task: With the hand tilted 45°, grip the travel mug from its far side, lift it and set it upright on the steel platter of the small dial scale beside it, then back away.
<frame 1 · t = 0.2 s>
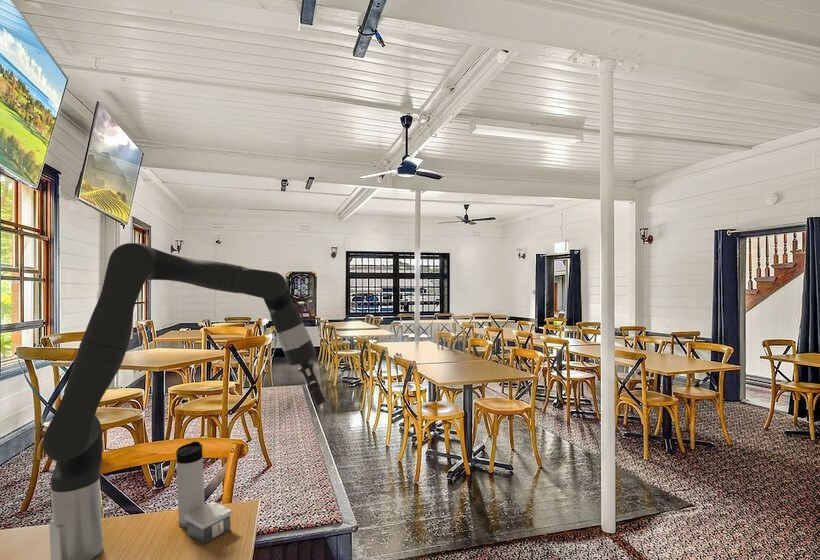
hand: (319, 398, 123), 31 cm above the table, tool tilted 20°, fingers open, 8 cm apart
dial scale: (209, 532, 116), on the table
travel mug: (192, 521, 121), on the table
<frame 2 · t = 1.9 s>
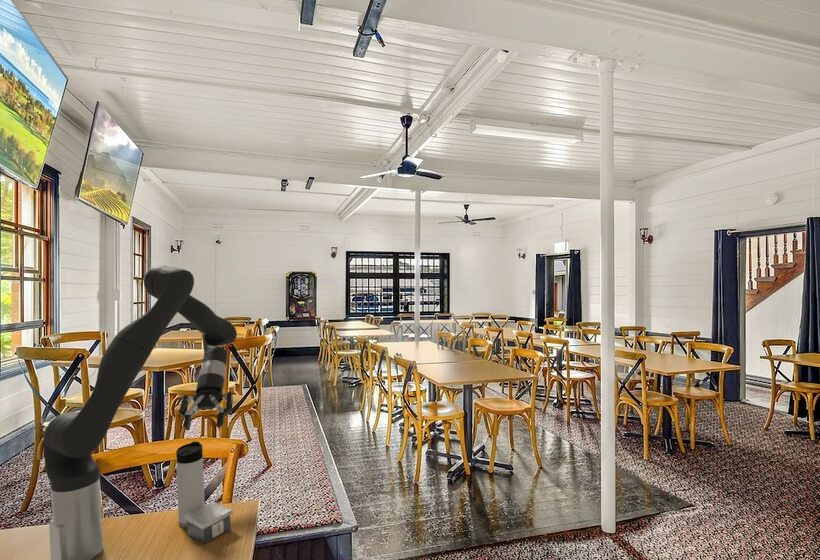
hand: (202, 428, 132), 21 cm above the table, tool tilted 45°, fingers open, 8 cm apart
nothing on the table moved.
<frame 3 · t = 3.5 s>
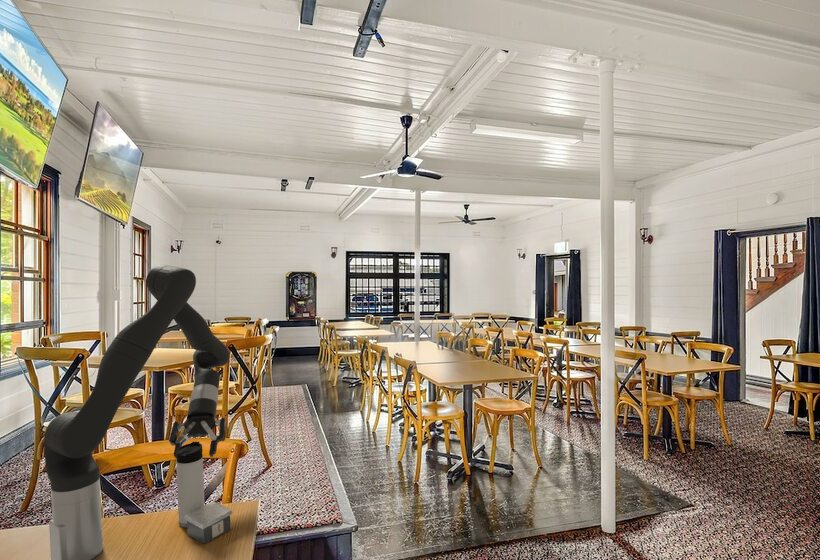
hand: (194, 457, 125), 15 cm above the table, tool tilted 45°, fingers open, 8 cm apart
nothing on the table moved.
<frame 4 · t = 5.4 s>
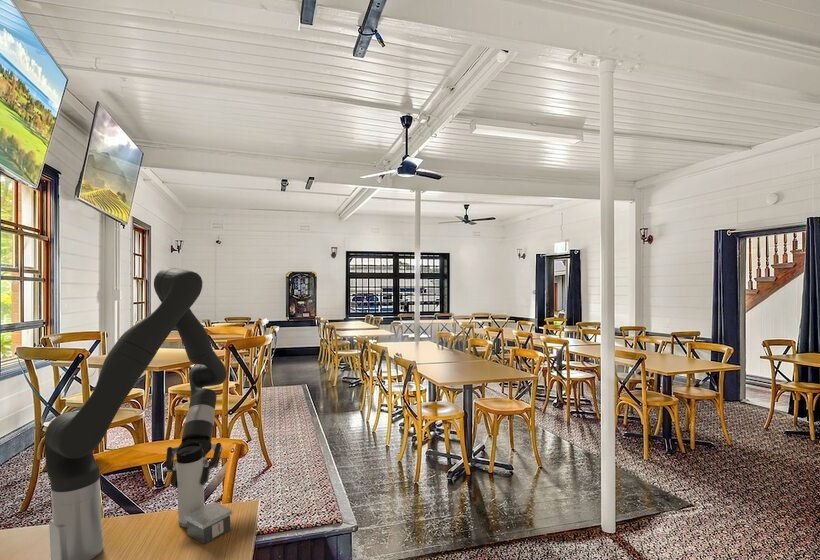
hand: (189, 485, 120), 10 cm above the table, tool tilted 45°, fingers closed on travel mug, 6 cm apart
travel mug: (192, 521, 121), on the table, touching gripper
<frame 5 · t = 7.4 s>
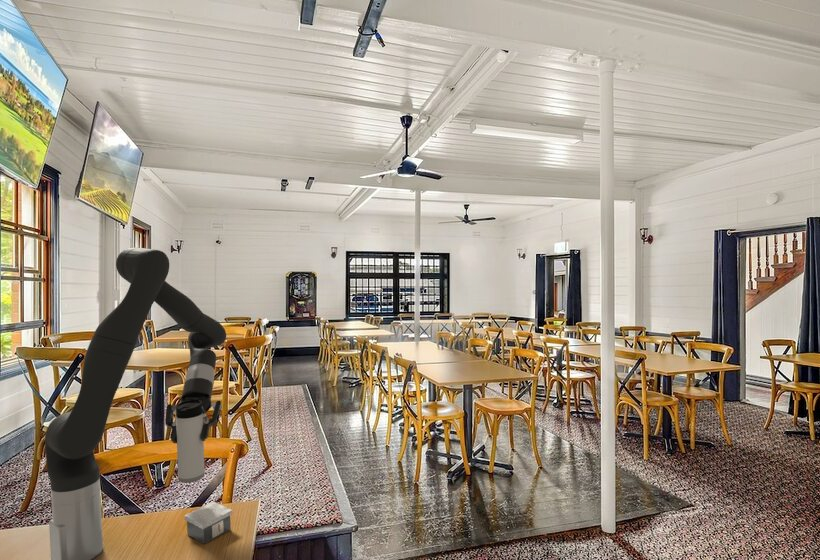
hand: (188, 440, 119), 22 cm above the table, tool tilted 45°, fingers closed on travel mug, 6 cm apart
travel mug: (192, 478, 121), point 12 cm above the table, touching gripper
when the fingers open (17 cm above the table, at t = 9.8 s): travel mug drops 1 cm, resting on dial scale.
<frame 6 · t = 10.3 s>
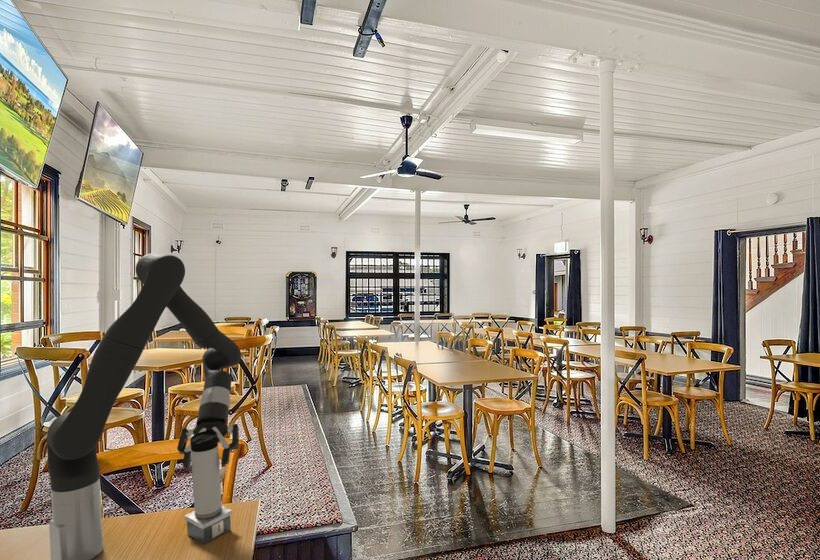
hand: (205, 467, 114), 17 cm above the table, tool tilted 45°, fingers open, 8 cm apart
travel mug: (209, 512, 116), point 5 cm above the table, touching dial scale
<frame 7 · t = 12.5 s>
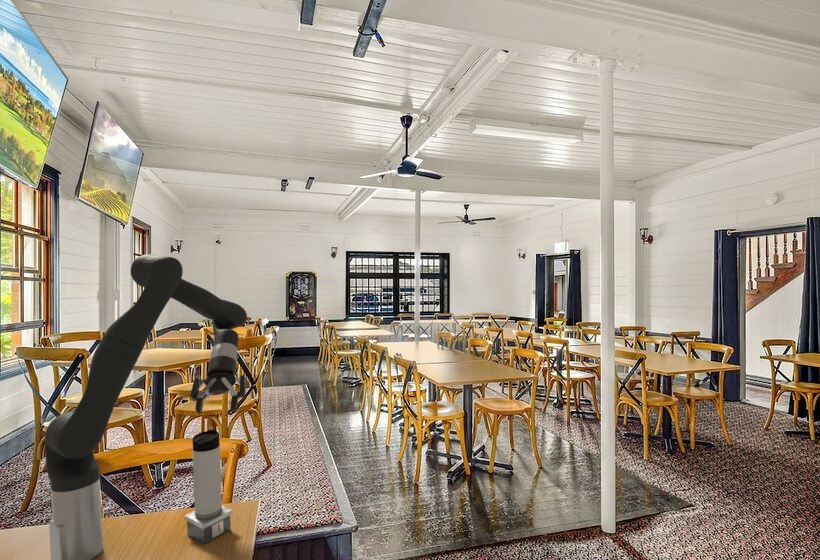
hand: (215, 411, 126), 27 cm above the table, tool tilted 45°, fingers open, 8 cm apart
nothing on the table moved.
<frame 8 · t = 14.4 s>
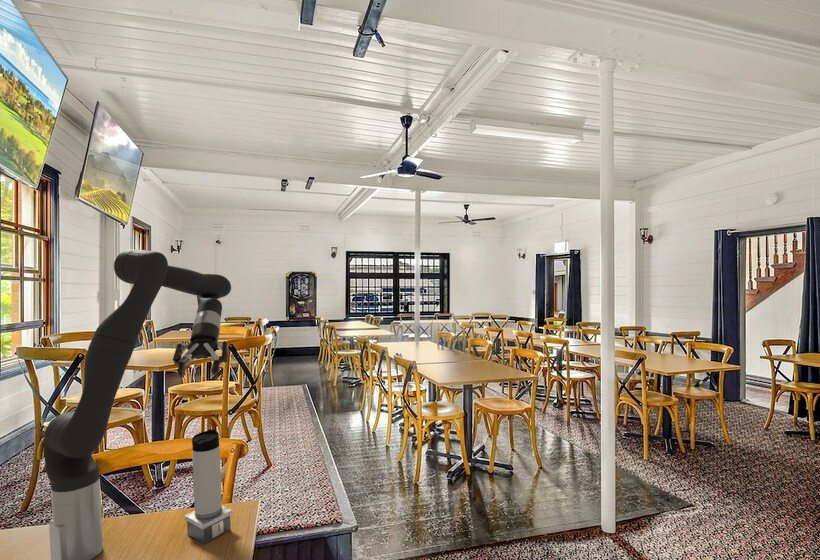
hand: (197, 375, 129), 37 cm above the table, tool tilted 45°, fingers open, 8 cm apart
nothing on the table moved.
at the end: travel mug 0.3 cm off-centre on the dial scale, point 4.8 cm above the dial scale's base; travel mug tilted 0°; the gripper is holding nothing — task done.
